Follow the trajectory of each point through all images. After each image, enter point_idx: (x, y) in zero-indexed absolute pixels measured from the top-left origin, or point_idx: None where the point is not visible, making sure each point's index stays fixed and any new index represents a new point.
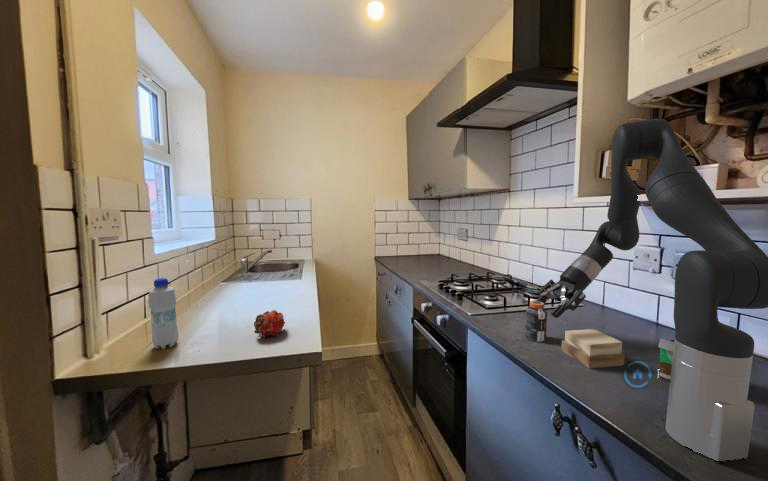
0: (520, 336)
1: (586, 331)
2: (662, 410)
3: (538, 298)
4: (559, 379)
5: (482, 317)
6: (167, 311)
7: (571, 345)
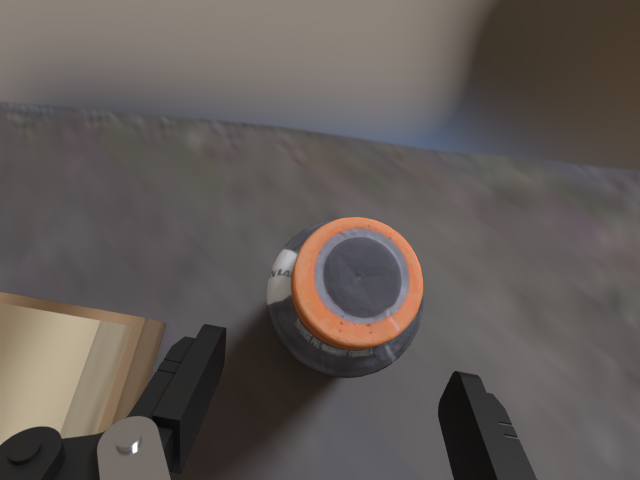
0: None
1: None
2: None
3: (524, 458)
4: (15, 125)
5: (630, 252)
6: None
7: (75, 312)
